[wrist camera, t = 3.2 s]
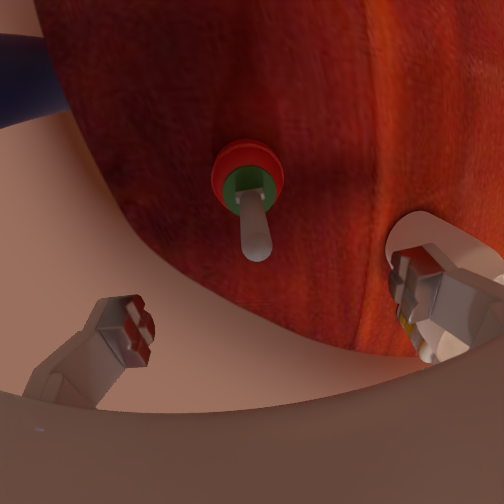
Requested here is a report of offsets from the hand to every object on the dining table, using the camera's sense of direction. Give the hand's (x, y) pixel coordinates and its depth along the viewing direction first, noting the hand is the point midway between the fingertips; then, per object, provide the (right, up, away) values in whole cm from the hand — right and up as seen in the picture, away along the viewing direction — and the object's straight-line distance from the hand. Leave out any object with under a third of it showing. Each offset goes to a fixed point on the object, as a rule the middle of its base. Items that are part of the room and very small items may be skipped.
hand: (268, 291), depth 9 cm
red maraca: (-1, +7, +12) cm, 14 cm away
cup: (+15, +2, +17) cm, 23 cm away
